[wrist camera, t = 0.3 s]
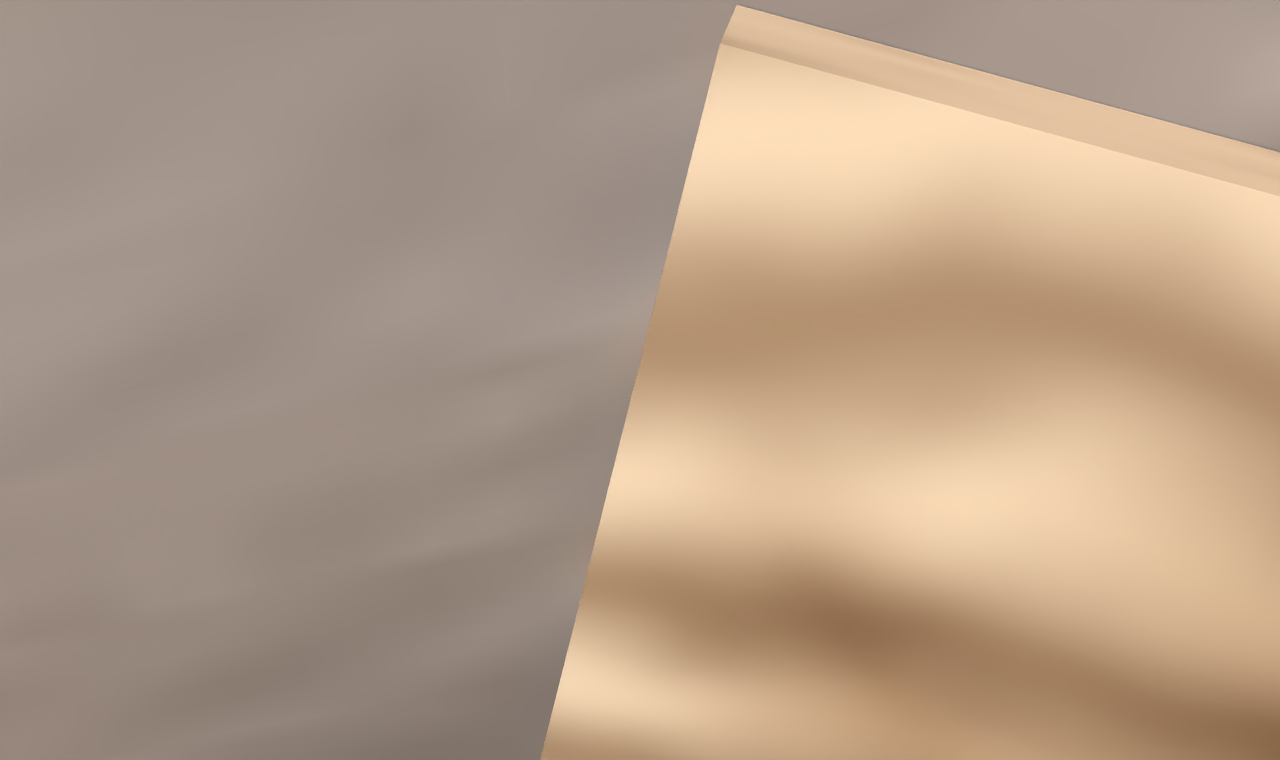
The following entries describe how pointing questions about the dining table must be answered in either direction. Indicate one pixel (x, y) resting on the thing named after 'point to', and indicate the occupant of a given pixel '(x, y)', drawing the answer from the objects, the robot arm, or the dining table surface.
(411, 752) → the dining table surface
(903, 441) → the stool board
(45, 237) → the dining table surface
